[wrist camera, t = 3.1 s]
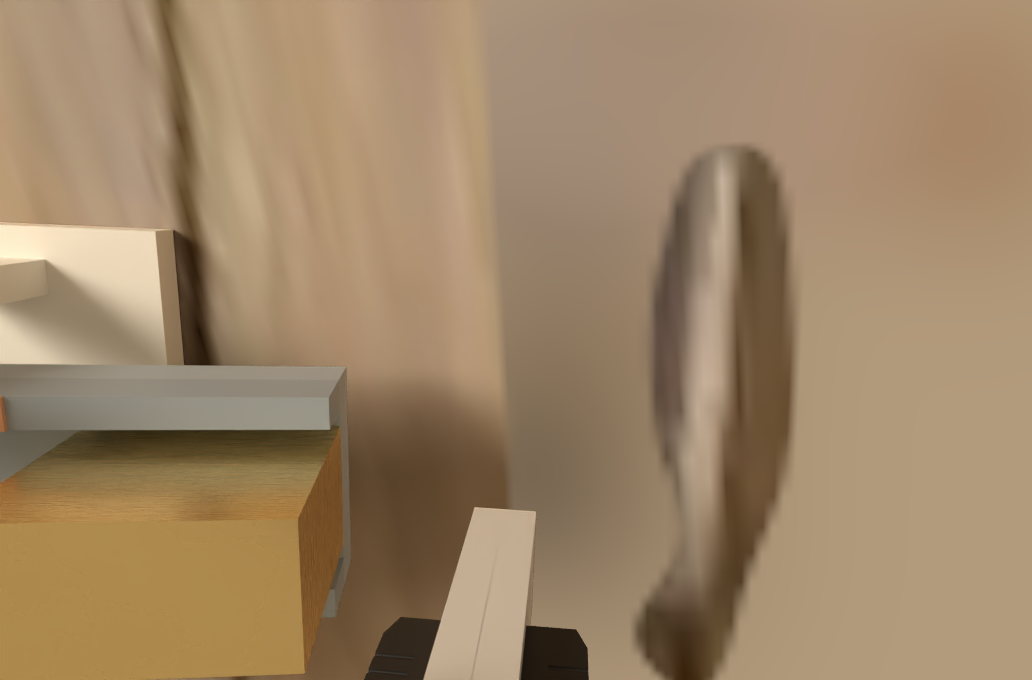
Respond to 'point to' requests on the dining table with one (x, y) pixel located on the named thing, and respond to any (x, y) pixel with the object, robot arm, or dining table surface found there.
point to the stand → (88, 295)
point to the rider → (169, 554)
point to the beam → (171, 410)
